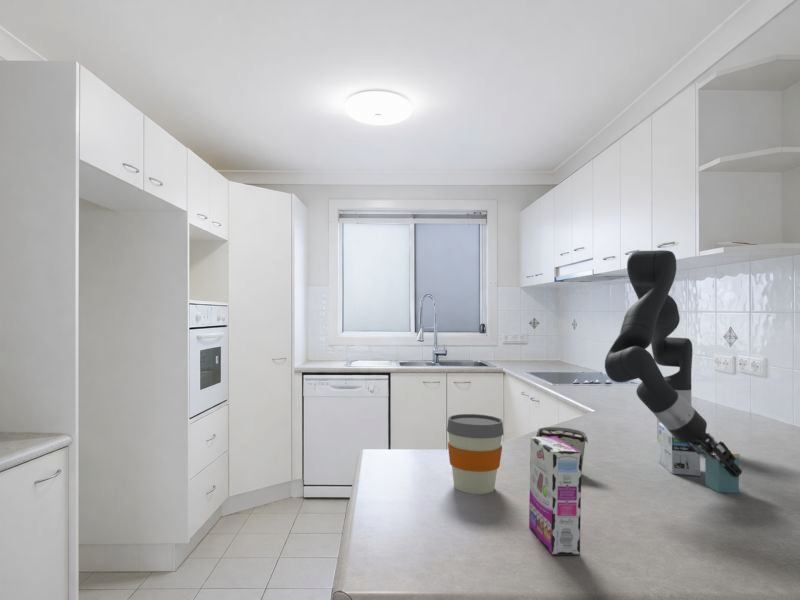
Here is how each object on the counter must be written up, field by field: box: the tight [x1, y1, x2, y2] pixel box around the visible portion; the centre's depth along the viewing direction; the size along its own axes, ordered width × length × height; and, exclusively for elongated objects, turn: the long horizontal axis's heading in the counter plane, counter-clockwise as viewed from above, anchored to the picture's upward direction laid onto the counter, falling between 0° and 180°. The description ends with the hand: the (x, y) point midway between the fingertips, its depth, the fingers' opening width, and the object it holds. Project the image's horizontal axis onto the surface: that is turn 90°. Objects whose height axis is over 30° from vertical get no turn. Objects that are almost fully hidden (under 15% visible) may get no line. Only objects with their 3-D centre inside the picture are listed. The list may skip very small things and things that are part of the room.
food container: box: [535, 426, 589, 474], centre depth 124 cm, size 12×6×10 cm, turn 65°
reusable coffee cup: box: [446, 413, 504, 495], centre depth 109 cm, size 13×13×15 cm
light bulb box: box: [658, 423, 701, 477], centre depth 126 cm, size 11×7×11 cm, turn 168°
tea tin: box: [704, 449, 741, 494], centre depth 111 cm, size 5×5×9 cm
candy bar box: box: [528, 436, 582, 556], centre depth 83 cm, size 11×5×16 cm, turn 5°
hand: (729, 470), depth 111 cm, fingers closed on tea tin, 4 cm apart
